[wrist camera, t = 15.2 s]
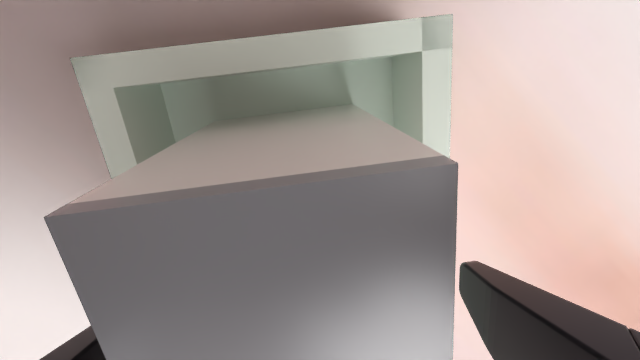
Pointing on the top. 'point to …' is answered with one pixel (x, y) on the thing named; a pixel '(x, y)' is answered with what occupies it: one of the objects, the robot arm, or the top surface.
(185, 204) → the grey rectangular block
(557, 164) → the top surface
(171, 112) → the tray
